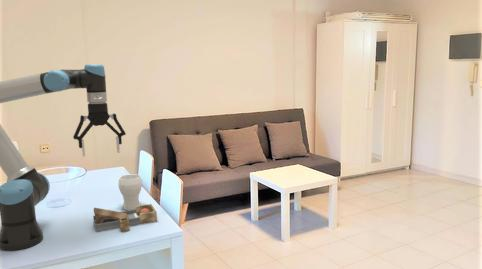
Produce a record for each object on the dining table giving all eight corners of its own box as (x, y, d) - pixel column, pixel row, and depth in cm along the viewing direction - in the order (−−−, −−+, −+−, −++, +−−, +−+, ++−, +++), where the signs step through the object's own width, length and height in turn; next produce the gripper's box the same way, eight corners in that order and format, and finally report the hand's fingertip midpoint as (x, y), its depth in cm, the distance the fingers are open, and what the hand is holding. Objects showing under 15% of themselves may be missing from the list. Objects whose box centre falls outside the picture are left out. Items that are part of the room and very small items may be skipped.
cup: (137, 212, 185) (135, 180, 182) (116, 210, 187) (113, 179, 184) (146, 204, 195) (145, 174, 192) (126, 202, 197) (124, 173, 194)
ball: (143, 208, 173) (152, 211, 175) (141, 205, 177) (150, 208, 179) (139, 218, 173) (148, 221, 175) (137, 214, 177) (146, 217, 179)
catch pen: (140, 224, 170) (140, 214, 169) (136, 215, 180) (135, 206, 179) (157, 221, 173) (156, 211, 172) (151, 213, 183) (151, 203, 182)
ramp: (96, 227, 164) (94, 213, 163) (94, 220, 171) (93, 207, 170) (129, 221, 169) (128, 208, 168) (126, 215, 177) (125, 202, 176)
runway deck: (95, 232, 163) (95, 224, 162) (93, 222, 173) (93, 215, 172) (140, 224, 170) (140, 217, 170) (136, 215, 180) (135, 209, 179)
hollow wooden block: (121, 232, 162) (120, 221, 162) (119, 229, 165) (119, 218, 165) (129, 230, 164) (128, 220, 163) (128, 227, 167) (127, 217, 166)
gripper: (63, 105, 154) (69, 159, 157) (130, 101, 164) (133, 152, 167) (63, 103, 160) (68, 155, 164) (127, 100, 170) (130, 149, 174)
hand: (101, 153), depth 166 cm, fingers open, 13 cm apart
